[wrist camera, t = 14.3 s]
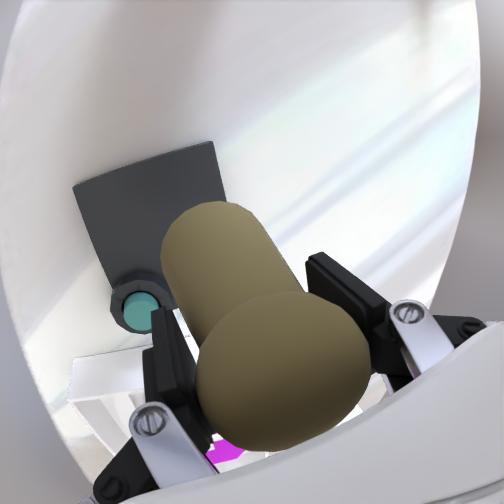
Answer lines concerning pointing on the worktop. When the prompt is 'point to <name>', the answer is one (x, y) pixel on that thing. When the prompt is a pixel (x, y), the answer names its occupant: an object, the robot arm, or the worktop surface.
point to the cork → (260, 333)
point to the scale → (144, 218)
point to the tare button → (139, 310)
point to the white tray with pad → (130, 402)
